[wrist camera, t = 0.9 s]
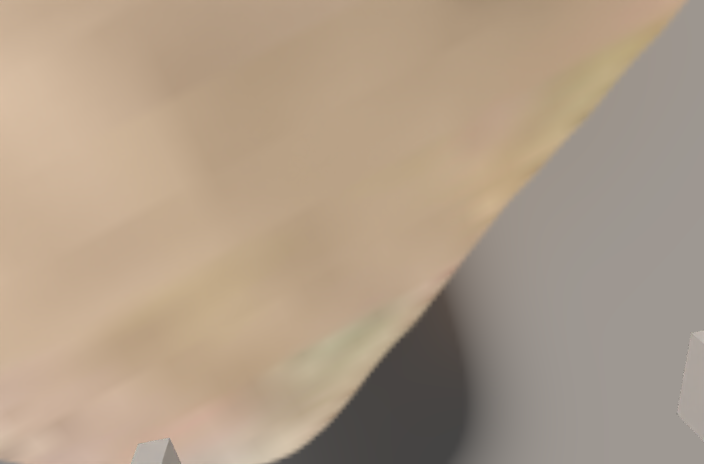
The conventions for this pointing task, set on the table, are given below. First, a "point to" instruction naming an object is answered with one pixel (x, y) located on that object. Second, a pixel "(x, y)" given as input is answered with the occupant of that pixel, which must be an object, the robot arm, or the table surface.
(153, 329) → the table surface
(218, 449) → the table surface
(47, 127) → the table surface
